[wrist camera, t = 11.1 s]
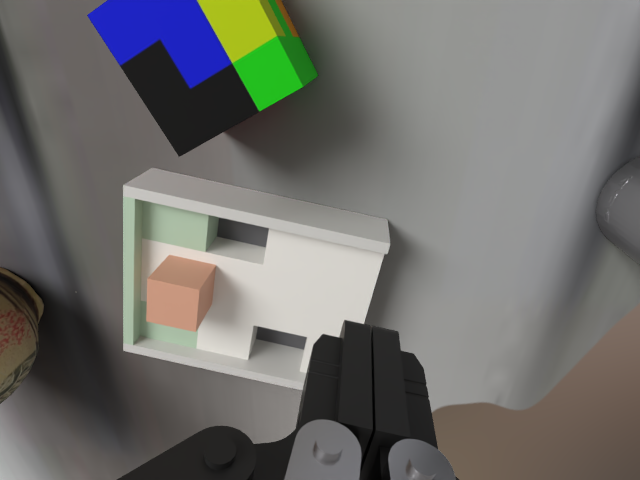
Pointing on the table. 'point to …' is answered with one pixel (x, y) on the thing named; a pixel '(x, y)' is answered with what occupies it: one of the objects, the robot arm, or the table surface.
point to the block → (180, 293)
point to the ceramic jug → (17, 331)
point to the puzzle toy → (204, 60)
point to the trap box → (247, 273)
